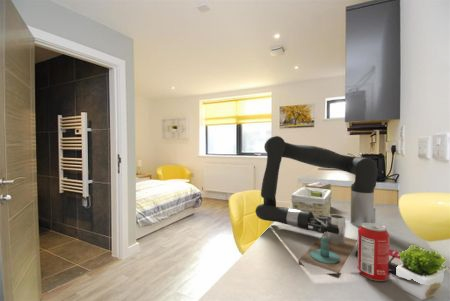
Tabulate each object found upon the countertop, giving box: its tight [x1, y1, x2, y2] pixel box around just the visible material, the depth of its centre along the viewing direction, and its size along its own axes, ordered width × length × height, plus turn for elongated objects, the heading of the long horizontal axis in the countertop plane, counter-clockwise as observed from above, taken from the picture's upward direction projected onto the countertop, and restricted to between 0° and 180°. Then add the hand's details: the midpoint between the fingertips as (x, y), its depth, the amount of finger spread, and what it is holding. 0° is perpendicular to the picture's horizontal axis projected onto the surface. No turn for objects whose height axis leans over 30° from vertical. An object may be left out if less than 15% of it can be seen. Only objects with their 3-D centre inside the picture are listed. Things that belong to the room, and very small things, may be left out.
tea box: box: [304, 181, 332, 207], centre depth 141 cm, size 15×10×15 cm
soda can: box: [357, 222, 391, 282], centre depth 67 cm, size 8×8×15 cm
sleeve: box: [327, 213, 346, 245], centre depth 87 cm, size 6×6×10 cm
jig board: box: [298, 232, 358, 279], centre depth 81 cm, size 30×12×8 cm, turn 140°
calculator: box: [354, 248, 402, 277], centre depth 74 cm, size 11×4×15 cm
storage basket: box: [290, 186, 332, 217], centre depth 118 cm, size 24×16×15 cm
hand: (341, 227), depth 86 cm, fingers open, 8 cm apart
